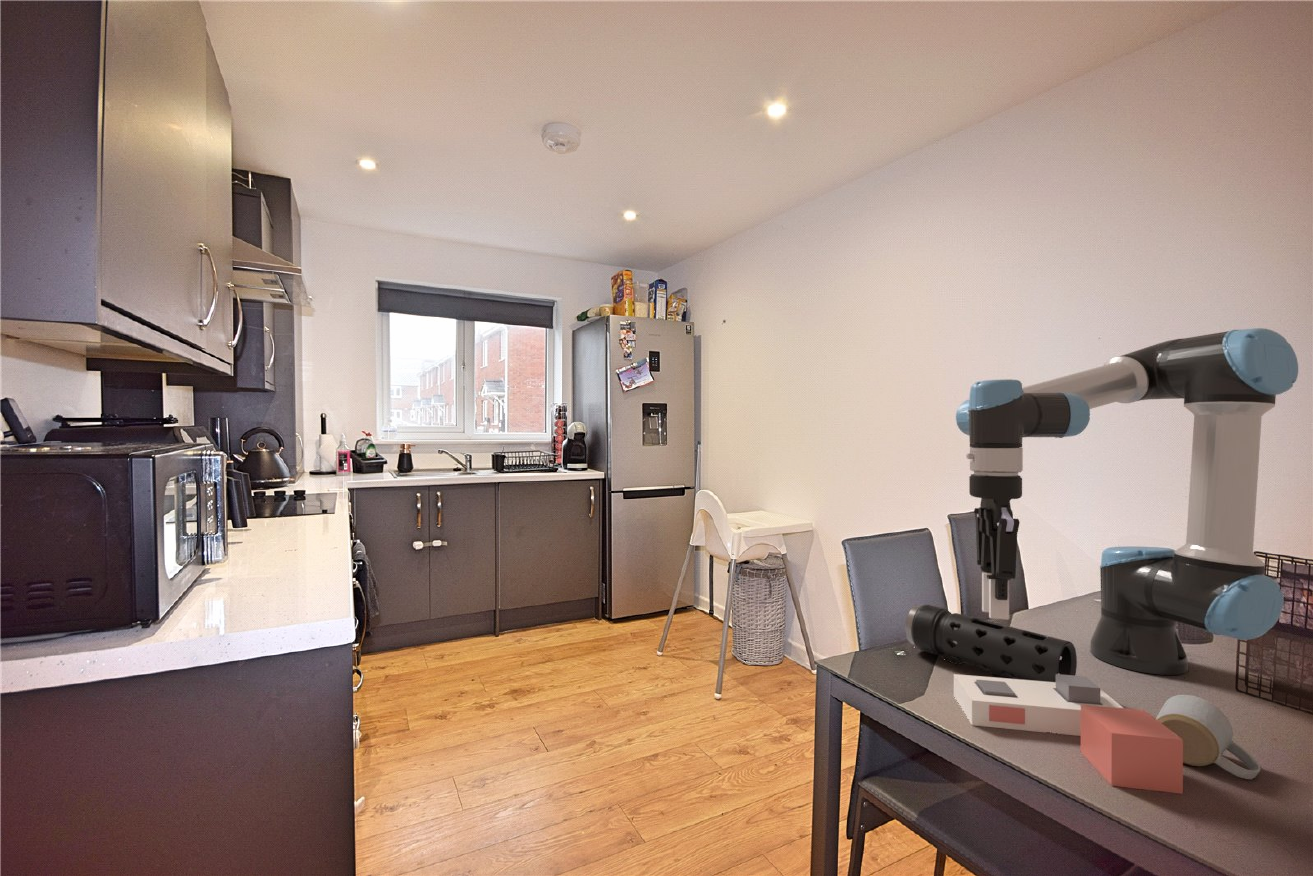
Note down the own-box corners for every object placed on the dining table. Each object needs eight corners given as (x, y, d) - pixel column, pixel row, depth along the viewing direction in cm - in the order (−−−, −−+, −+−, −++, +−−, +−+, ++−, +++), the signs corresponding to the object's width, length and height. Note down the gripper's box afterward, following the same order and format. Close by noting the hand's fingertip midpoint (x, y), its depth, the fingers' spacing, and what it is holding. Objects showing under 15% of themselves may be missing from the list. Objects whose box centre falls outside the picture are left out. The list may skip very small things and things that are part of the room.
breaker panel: (1096, 709, 95) (1096, 685, 95) (1132, 741, 86) (1132, 715, 85) (953, 696, 100) (953, 674, 100) (972, 726, 90) (972, 701, 90)
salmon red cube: (1144, 758, 81) (1144, 710, 81) (1182, 793, 73) (1183, 740, 73) (1080, 752, 83) (1080, 704, 83) (1111, 785, 75) (1111, 733, 75)
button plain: (1085, 700, 93) (1085, 676, 93) (1100, 713, 89) (1100, 688, 89) (1055, 698, 94) (1055, 674, 94) (1068, 710, 90) (1068, 685, 90)
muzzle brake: (1056, 707, 97) (1056, 647, 97) (902, 655, 119) (902, 606, 119) (1077, 691, 102) (1077, 634, 102) (926, 645, 125) (926, 598, 125)
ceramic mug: (1149, 755, 82) (1150, 702, 82) (1162, 735, 87) (1163, 686, 87) (1255, 792, 74) (1257, 734, 74) (1263, 768, 79) (1264, 714, 79)
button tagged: (1004, 705, 96) (1004, 681, 96) (1015, 718, 92) (1015, 693, 92) (976, 702, 97) (976, 679, 97) (985, 715, 93) (985, 691, 93)
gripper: (956, 470, 102) (956, 599, 103) (986, 477, 87) (986, 629, 87) (1002, 470, 101) (1002, 602, 101) (1041, 477, 85) (1041, 633, 86)
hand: (995, 614), depth 94 cm, fingers open, 3 cm apart
